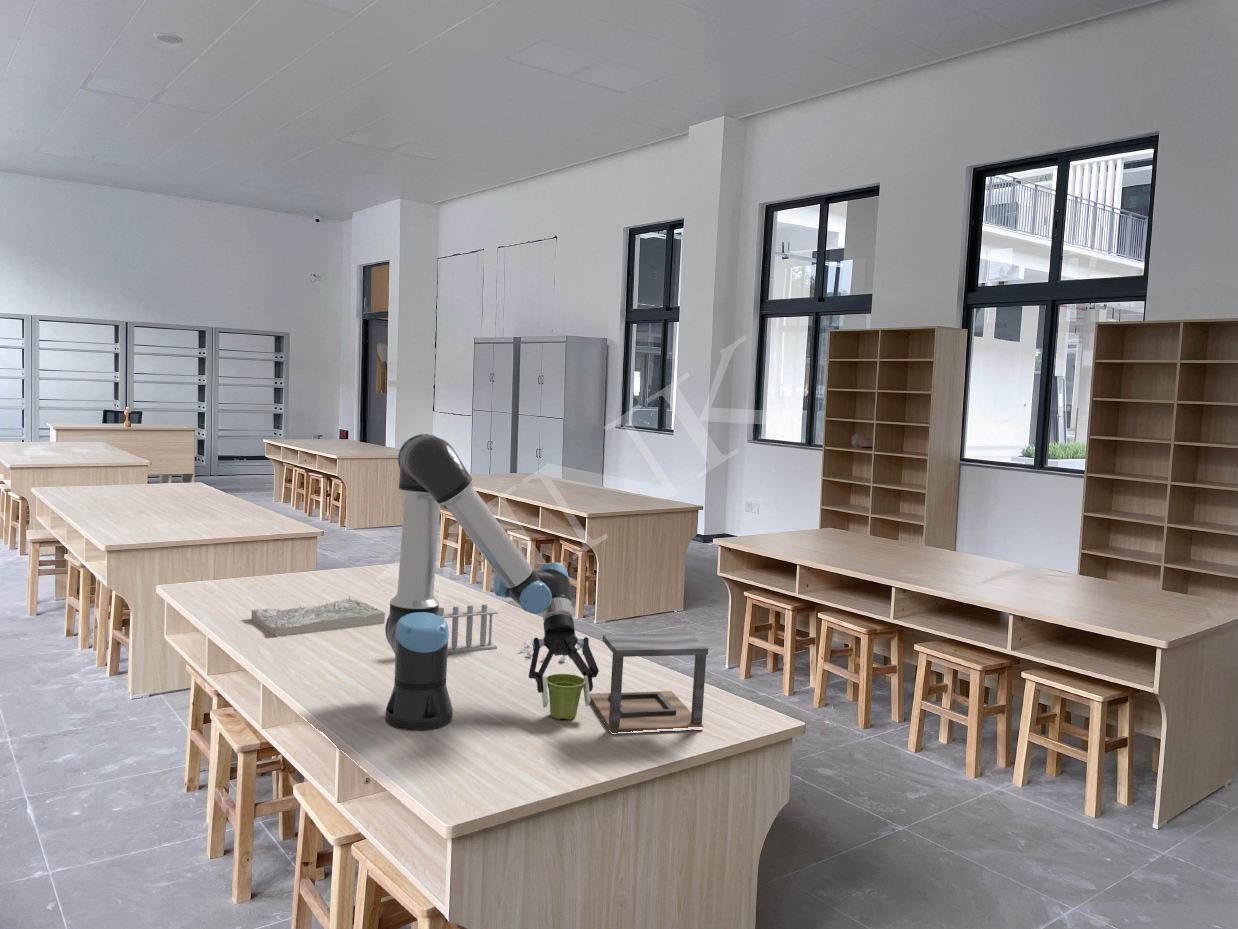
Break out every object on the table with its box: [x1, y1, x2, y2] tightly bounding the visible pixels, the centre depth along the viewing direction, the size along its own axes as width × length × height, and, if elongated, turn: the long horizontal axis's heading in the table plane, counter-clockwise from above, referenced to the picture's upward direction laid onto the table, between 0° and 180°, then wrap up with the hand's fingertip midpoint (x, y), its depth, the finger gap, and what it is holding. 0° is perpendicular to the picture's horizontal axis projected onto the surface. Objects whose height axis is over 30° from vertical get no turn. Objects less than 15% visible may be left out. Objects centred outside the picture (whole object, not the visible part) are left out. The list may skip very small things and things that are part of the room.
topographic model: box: [251, 595, 386, 638], centre depth 281 cm, size 23×34×5 cm
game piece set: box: [520, 634, 584, 663], centre depth 261 cm, size 19×20×4 cm
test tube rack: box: [438, 603, 499, 655], centre depth 258 cm, size 25×4×13 cm, turn 120°
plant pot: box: [546, 673, 585, 720], centre depth 210 cm, size 9×9×9 cm
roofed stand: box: [590, 632, 709, 733], centre depth 214 cm, size 24×22×20 cm
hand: (567, 704), depth 207 cm, fingers closed on plant pot, 9 cm apart
